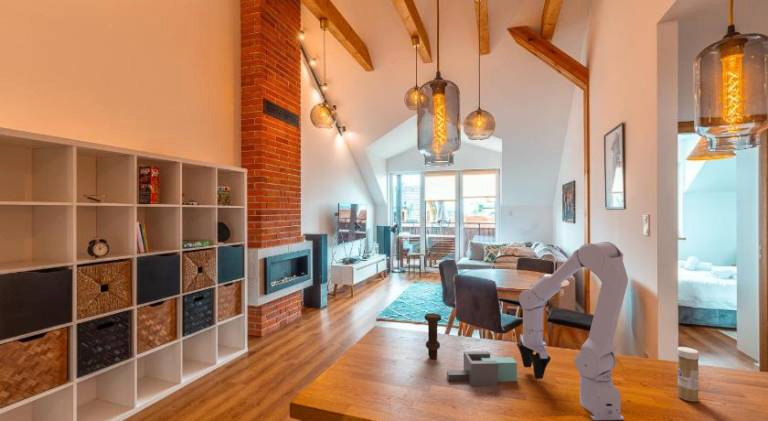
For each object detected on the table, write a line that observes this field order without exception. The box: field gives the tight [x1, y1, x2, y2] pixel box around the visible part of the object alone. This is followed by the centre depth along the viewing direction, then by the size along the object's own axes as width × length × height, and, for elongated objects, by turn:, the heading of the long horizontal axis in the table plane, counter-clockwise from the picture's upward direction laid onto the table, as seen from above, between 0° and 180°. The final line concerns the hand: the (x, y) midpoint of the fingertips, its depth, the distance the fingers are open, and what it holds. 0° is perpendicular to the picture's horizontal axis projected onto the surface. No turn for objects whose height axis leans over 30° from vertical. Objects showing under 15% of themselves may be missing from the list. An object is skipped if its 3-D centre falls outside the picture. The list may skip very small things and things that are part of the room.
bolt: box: [424, 312, 442, 360], centre depth 124 cm, size 6×5×15 cm
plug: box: [480, 356, 518, 382], centre depth 109 cm, size 4×10×6 cm, turn 91°
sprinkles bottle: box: [676, 346, 700, 403], centre depth 97 cm, size 5×5×14 cm
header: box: [446, 350, 499, 387], centre depth 109 cm, size 9×14×7 cm, turn 92°
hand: (532, 372), depth 109 cm, fingers open, 7 cm apart
